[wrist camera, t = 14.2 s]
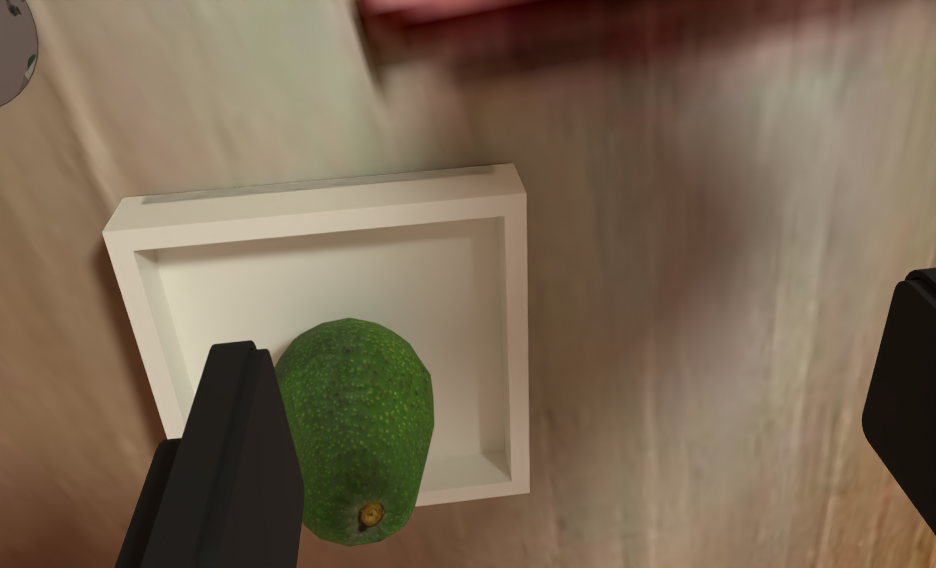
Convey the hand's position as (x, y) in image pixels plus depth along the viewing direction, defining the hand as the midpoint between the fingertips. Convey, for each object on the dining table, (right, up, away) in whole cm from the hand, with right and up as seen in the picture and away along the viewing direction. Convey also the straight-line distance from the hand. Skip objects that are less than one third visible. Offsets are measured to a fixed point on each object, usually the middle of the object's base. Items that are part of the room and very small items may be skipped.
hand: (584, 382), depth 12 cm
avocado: (-8, -2, +29) cm, 30 cm away
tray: (-8, -1, +30) cm, 31 cm away
